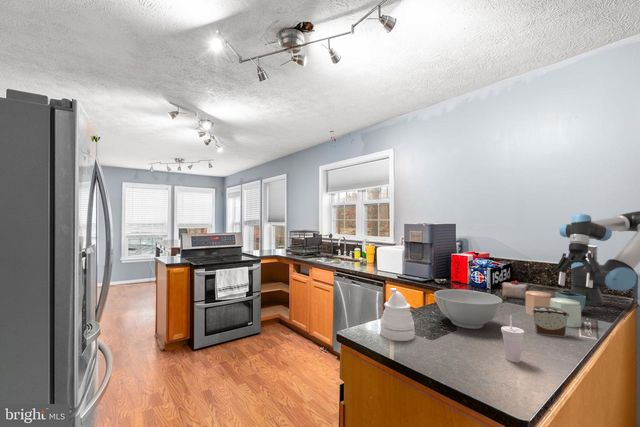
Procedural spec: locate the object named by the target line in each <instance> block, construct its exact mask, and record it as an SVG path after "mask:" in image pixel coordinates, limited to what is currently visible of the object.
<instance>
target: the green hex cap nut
mask: <svg viewBox="0 0 640 427" xmlns="http://www.w3.org/2000/svg"><path fill="white" fill-rule="evenodd" d="M550 307H555V308H560V309H563V310H566V311H568V313H569V316H567V325H566V328H581V327H582V311H581V305H580V302H579V301H576V300H572V299H566V298H556V297H552V298H551V300H550Z"/></svg>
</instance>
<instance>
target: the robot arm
mask: <svg viewBox="0 0 640 427" xmlns="http://www.w3.org/2000/svg"><path fill="white" fill-rule="evenodd" d="M616 231H617V232H635V233H634V234H633V236H632V237H631V238H630V239H629V240H628V241H627V243H626V244H625V245H624V246H623V247H622V248H621V250H620V251H619V252H618V254H616V255H615V257H614V258H610V259H608V260H606V262H605V263H603V264H600V263H599V261H596V258H595V254H594V253H591V252H589V249H590V248H589V245H590V240H592V239H593V240H597V241H600V242H605V241H608V240H609V239H611V238H612V235H613V232H616ZM559 234H560V236H562V237H563V238H568V239H569V245H568V251H569V252H568V253H562V256H561V259H560V260H559V262H558V263H557V264H556V266H555V269H554V270H555V271H557V272H558V276H557V278H558V285H561V286H562V287H563V286H564V287H565V282H566V275H567V273H566V271H567V270H568V269H569V268H570V267H571V268H570V275H571V279H570V280H571V288H570V290H569V293H575V294H579V295H582V296H585V297H586V301H585V306H592V307H603V306H604V305H605V300H604V298H603V295H602V293H601V291H600V288H605V289H609V290H613V291H620V292H621V291H623V292H624V291H629V290H631V289H632V288H633V287H634V286H635V284H636V283H637V278H638V277H637V274H636V270H635V268H636V267H637V266H638V265H639V264H640V210H639V211H632V212H631V211H630V212H627V213H623V214H616V215H614V216H612V217H610V218H603V219H596V220H592V216H591V215H589V214H587V213H586V214H585V213H578V214H574V215H573V216H572V218H571V221H570V224H569V223H567V224H562V225H561V226H560V227H559Z"/></svg>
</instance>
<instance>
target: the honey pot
mask: <svg viewBox="0 0 640 427" xmlns="http://www.w3.org/2000/svg"><path fill="white" fill-rule="evenodd" d="M389 291H390V293H391V295H390V297H389V298H388V301H386V302H385V303H384V304H383V306H384V307H385V308H384V310H383V313H382V315H381V316H382V317H381V319H380V335H381V336H382V337H383V338H386V339H388V340H391V341H399V342H405V341H411V340H413V339H414V338H415V322H414V320H413V316H412V312H411V310H410V308H411V304H410V303H408V302H407V300H406V298H405V296H404V295H403V294H402V293H401V292H400V291H398V289H397V288H394V287H391V288H389Z"/></svg>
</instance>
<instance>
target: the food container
mask: <svg viewBox="0 0 640 427" xmlns="http://www.w3.org/2000/svg"><path fill="white" fill-rule="evenodd" d="M532 313H534V315H533V320H534V326H535V334H537V335H542V336H543V335H544V336H554V337H561V338H562V337H563V338H566V333H567V326H566V325H567V316H569V313H568V311H566V310H563V309H560V308H555V307H549V306H534V307H533V308H532Z"/></svg>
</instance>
